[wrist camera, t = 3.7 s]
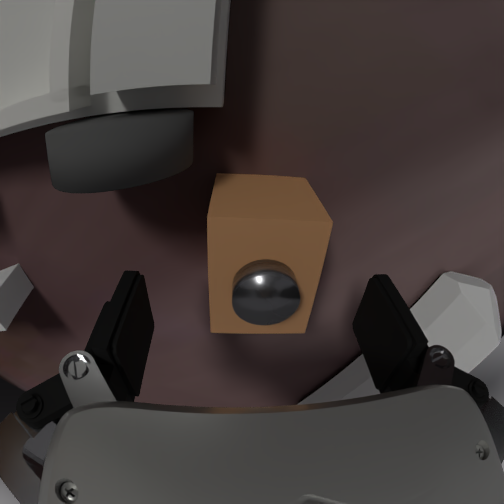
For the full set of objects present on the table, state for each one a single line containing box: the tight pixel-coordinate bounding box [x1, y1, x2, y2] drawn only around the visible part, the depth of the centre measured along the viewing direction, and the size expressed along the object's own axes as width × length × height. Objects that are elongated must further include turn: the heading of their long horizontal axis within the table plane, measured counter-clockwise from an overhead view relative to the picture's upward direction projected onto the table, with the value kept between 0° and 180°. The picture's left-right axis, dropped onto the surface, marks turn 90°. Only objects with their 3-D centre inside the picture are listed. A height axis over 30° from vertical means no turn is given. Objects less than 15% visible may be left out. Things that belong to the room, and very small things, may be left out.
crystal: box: [297, 272, 501, 405], centre depth 22 cm, size 7×7×24 cm
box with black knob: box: [207, 173, 333, 334], centre depth 13 cm, size 6×4×6 cm
